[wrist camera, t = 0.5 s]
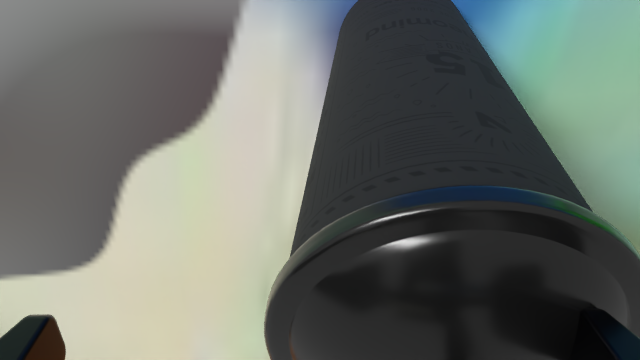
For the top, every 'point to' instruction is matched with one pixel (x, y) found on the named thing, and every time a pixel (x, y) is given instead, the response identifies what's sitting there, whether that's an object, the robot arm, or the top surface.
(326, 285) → the drinking cup
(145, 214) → the top surface
